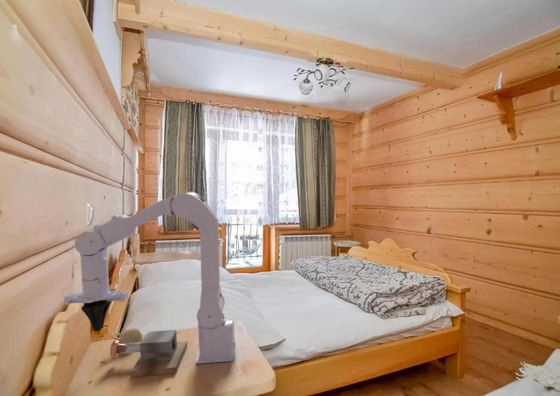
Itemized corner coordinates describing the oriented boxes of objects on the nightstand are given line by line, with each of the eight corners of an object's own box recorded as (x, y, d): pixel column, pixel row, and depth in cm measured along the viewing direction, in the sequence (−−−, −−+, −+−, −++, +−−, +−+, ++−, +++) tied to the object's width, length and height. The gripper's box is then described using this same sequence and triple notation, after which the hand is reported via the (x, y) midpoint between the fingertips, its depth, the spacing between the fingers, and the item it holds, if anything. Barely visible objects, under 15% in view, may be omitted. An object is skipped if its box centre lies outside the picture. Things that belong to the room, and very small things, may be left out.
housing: (187, 346, 85) (186, 324, 84) (176, 373, 73) (174, 347, 72) (149, 349, 84) (147, 326, 84) (131, 376, 72) (129, 350, 72)
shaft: (160, 349, 80) (159, 334, 80) (155, 357, 76) (154, 342, 76) (118, 352, 79) (117, 337, 79) (110, 360, 75) (109, 345, 75)
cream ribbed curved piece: (145, 344, 86) (144, 326, 86) (113, 355, 81) (112, 336, 81) (142, 339, 90) (141, 321, 89) (110, 349, 84) (109, 331, 84)
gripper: (54, 283, 71) (58, 339, 72) (117, 280, 73) (121, 335, 73) (72, 274, 78) (76, 325, 79) (130, 272, 80) (132, 321, 80)
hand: (98, 329), depth 77 cm, fingers closed
